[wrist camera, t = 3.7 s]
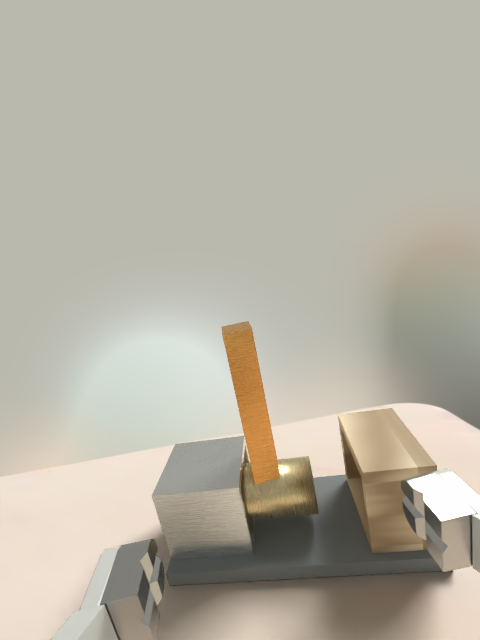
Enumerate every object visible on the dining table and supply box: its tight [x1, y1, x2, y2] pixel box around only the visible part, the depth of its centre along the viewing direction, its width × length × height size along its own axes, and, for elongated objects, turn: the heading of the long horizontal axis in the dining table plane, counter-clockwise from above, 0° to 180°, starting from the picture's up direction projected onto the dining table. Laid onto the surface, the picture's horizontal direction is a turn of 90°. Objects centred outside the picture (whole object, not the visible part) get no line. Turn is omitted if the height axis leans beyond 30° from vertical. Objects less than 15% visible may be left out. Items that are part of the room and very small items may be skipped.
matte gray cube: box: [152, 436, 255, 560], centre depth 22 cm, size 6×5×5 cm
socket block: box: [338, 408, 437, 553], centre depth 20 cm, size 4×6×6 cm, turn 175°
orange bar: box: [222, 321, 319, 520], centre depth 20 cm, size 10×4×14 cm, turn 85°
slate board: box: [166, 475, 442, 586], centre depth 22 cm, size 18×7×1 cm, turn 85°
